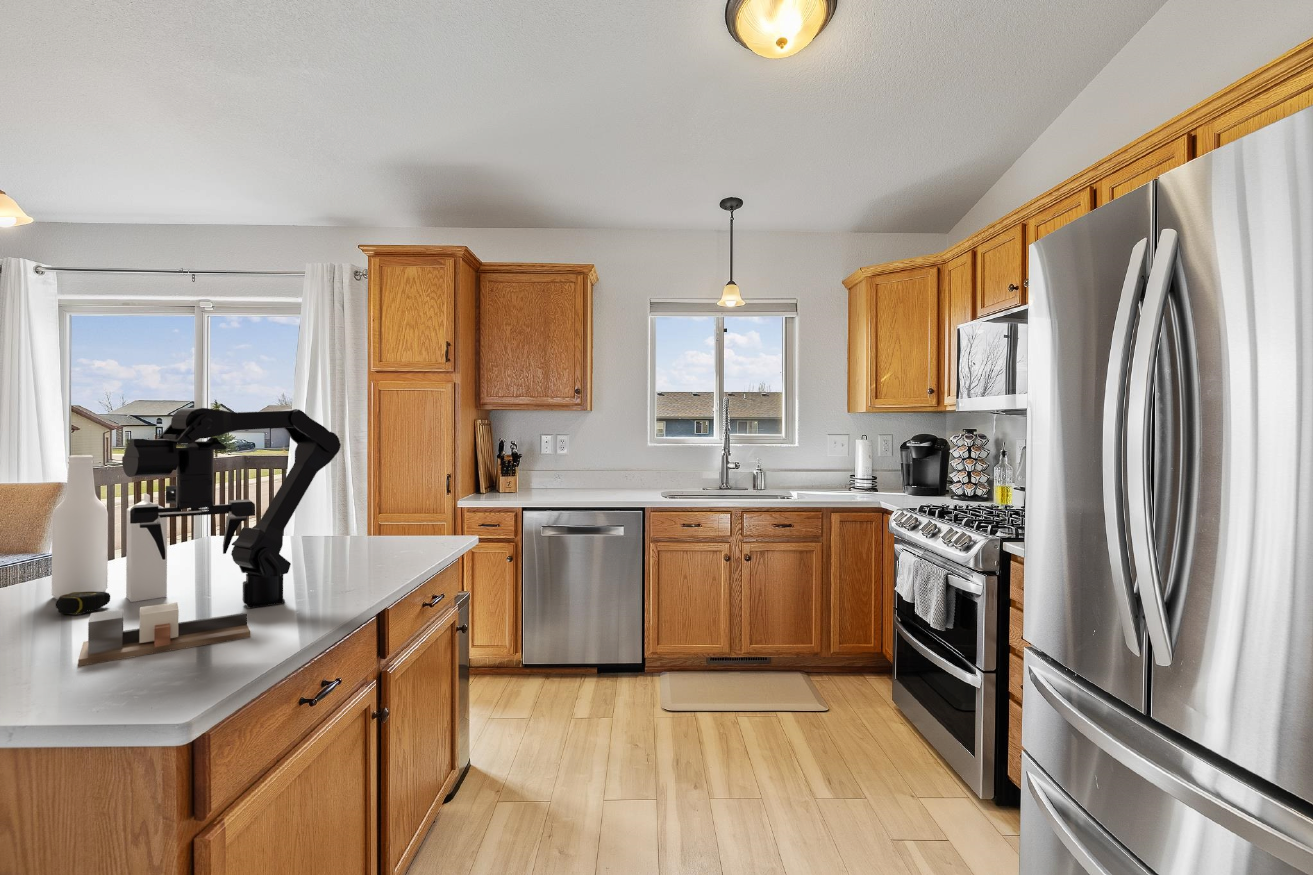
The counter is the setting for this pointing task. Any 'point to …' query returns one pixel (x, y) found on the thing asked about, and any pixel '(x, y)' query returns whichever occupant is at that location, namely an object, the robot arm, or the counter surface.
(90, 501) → the alcohol
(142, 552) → the milk
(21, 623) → the counter surface
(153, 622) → the sleeve
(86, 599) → the tape measure
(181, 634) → the board
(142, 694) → the counter surface
